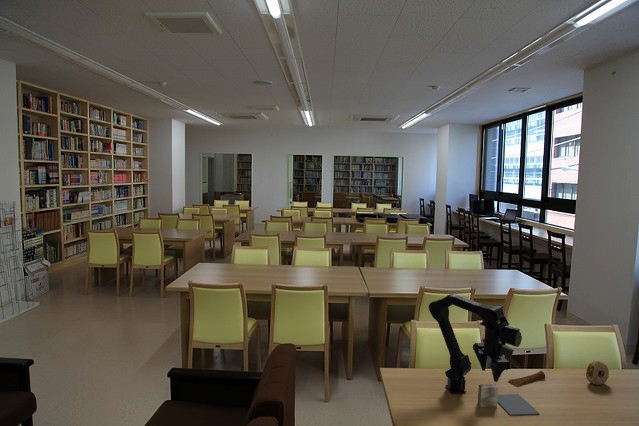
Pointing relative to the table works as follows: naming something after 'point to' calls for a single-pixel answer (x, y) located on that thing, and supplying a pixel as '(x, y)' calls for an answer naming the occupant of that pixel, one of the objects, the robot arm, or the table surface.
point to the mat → (516, 405)
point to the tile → (488, 395)
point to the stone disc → (597, 373)
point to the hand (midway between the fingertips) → (489, 376)
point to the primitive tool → (527, 379)
